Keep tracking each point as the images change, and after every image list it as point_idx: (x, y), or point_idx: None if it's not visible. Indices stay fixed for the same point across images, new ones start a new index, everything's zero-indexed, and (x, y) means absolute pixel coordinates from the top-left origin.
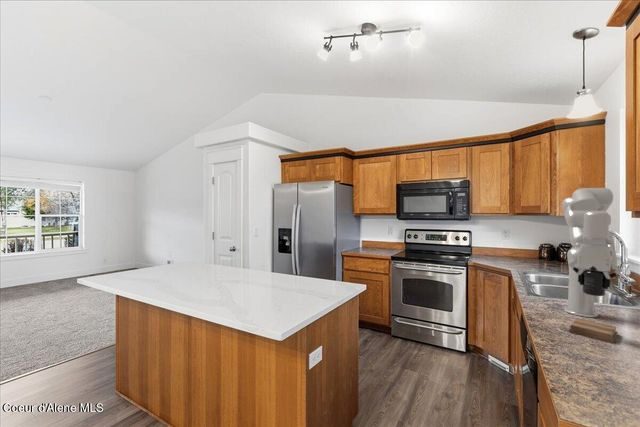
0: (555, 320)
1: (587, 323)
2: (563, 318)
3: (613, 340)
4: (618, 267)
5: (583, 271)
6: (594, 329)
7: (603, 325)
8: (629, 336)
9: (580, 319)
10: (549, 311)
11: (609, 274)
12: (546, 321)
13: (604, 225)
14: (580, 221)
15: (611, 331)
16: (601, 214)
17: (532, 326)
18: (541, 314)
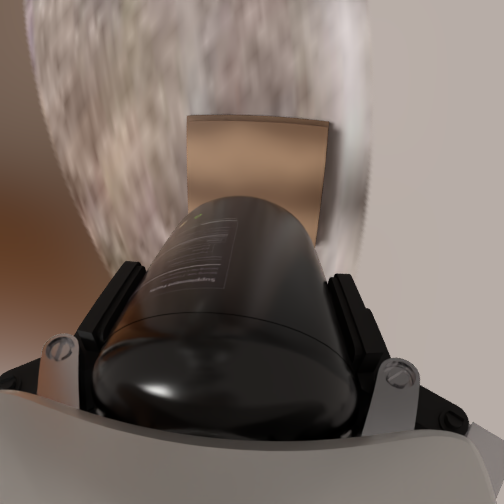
0: (126, 131)
1: (232, 170)
2: (142, 73)
3: (315, 242)
4: (494, 494)
5: (83, 386)
6: None
7: (287, 146)
8: (360, 114)
9: (201, 129)
10: (91, 32)
11: (402, 415)
12: (111, 175)
13: None
14: None
15: (314, 211)
16: None
17: (109, 268)
18: (78, 101)
